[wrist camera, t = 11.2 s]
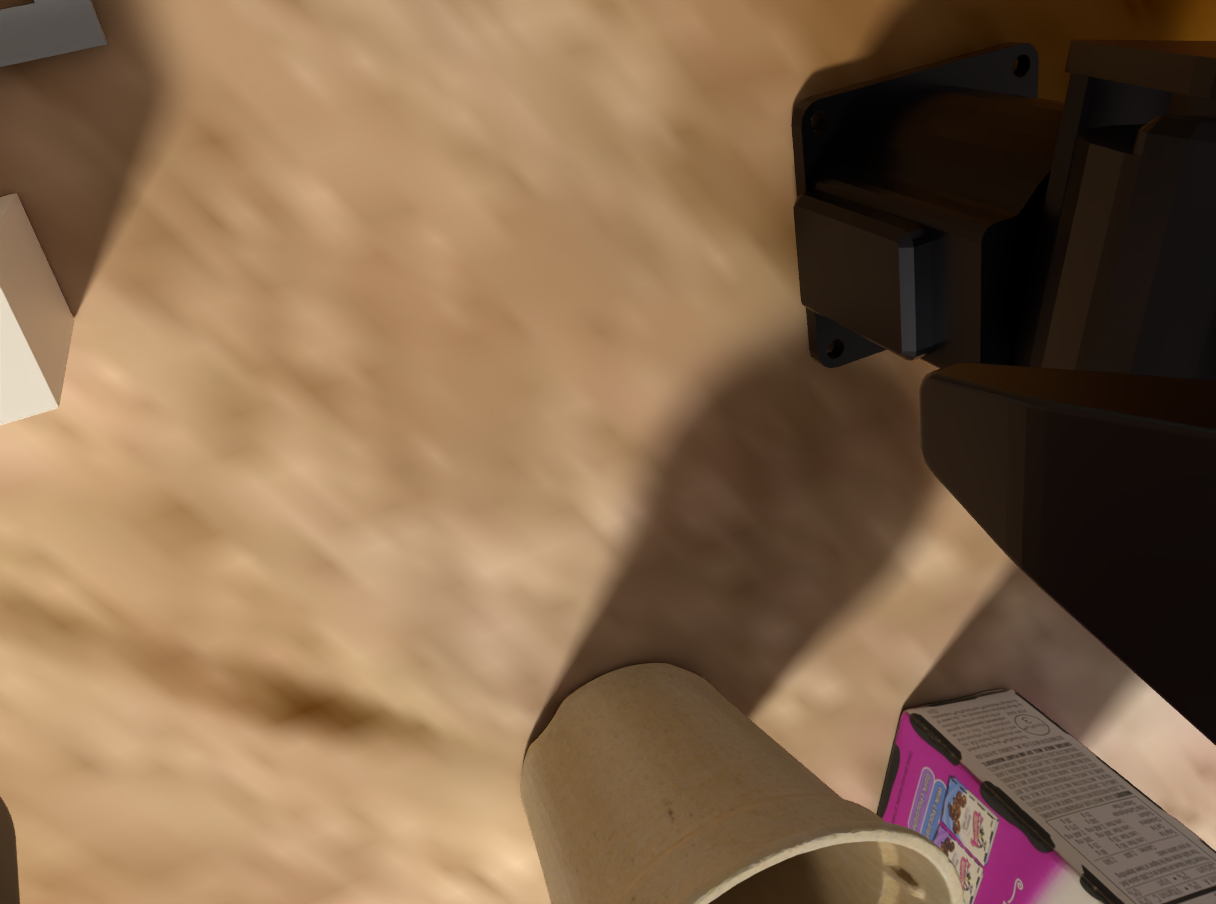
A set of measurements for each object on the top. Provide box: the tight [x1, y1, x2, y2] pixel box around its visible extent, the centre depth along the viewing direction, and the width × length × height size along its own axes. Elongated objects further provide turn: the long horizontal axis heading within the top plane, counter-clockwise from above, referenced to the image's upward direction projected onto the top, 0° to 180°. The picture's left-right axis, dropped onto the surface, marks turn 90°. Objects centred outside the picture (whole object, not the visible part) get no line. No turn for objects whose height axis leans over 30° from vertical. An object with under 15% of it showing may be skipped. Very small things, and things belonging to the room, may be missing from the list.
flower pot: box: [521, 663, 966, 904], centre depth 25 cm, size 9×9×9 cm
